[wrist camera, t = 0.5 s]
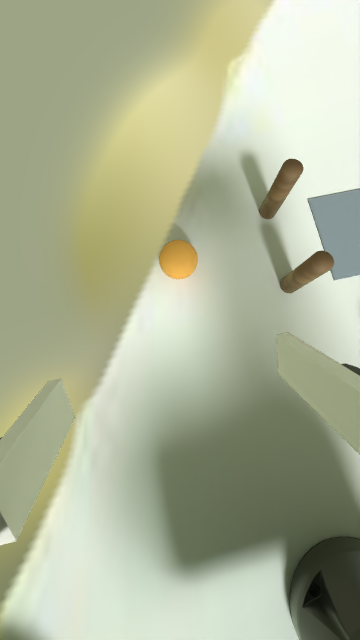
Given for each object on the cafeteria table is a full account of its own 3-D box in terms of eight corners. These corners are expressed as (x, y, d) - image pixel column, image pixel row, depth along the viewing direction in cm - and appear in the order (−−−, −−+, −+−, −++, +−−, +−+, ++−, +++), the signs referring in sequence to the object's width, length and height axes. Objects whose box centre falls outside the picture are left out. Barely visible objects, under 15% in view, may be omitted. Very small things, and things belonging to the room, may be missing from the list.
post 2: (299, 291, 37) (336, 269, 28) (283, 294, 37) (315, 273, 28) (294, 275, 37) (330, 248, 28) (278, 278, 37) (308, 253, 28)
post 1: (277, 217, 39) (305, 174, 30) (261, 220, 39) (285, 178, 30) (273, 203, 39) (299, 157, 30) (257, 206, 39) (280, 160, 30)
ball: (199, 280, 37) (202, 266, 32) (164, 287, 37) (162, 274, 31) (192, 247, 38) (194, 229, 32) (158, 254, 38) (154, 236, 32)
